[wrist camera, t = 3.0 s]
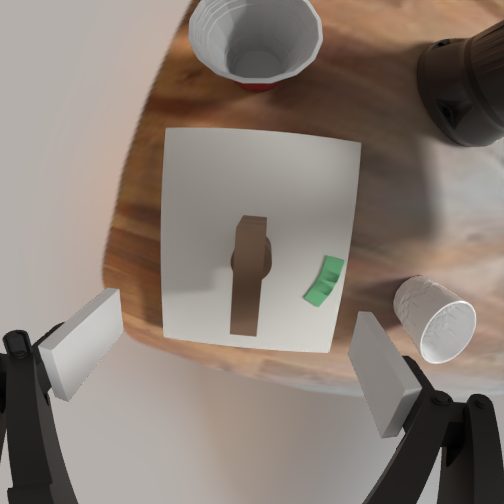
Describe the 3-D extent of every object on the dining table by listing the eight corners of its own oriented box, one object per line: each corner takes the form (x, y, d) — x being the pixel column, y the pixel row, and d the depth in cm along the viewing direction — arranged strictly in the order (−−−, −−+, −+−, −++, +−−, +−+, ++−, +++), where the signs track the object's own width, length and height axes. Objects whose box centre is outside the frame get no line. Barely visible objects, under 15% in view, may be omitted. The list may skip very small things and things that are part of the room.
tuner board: (177, 132, 32) (164, 127, 28) (351, 145, 31) (362, 142, 27) (173, 322, 38) (163, 338, 34) (323, 335, 37) (329, 353, 33)
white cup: (378, 300, 36) (408, 339, 26) (420, 258, 34) (462, 286, 24) (406, 334, 37) (436, 375, 27) (445, 296, 35) (483, 328, 26)
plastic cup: (298, 121, 31) (314, 95, 19) (204, 106, 31) (173, 75, 19) (313, 41, 28) (331, -10, 16) (223, 28, 28) (205, -26, 16)
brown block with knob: (239, 208, 30) (223, 226, 20) (274, 211, 30) (278, 231, 20) (231, 324, 33) (217, 382, 23) (263, 327, 33) (261, 387, 23)
